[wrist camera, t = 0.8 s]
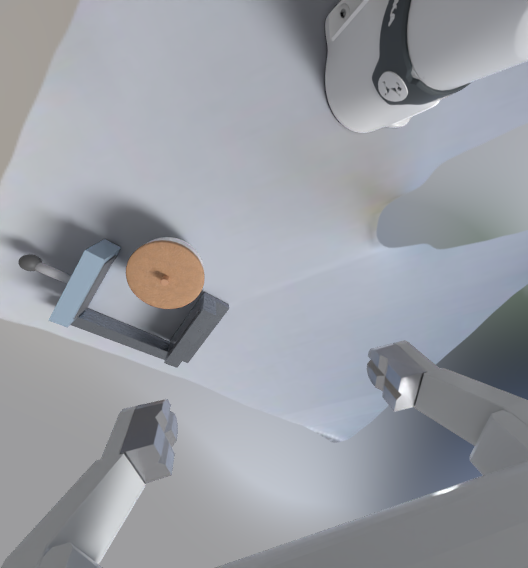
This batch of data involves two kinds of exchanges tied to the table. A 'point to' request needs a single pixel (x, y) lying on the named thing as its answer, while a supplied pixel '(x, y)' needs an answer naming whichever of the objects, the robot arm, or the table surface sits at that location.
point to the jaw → (76, 279)
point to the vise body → (172, 352)
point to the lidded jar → (166, 273)
